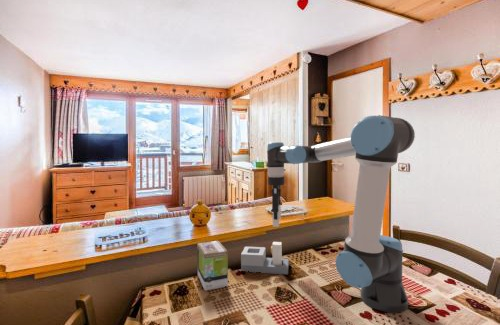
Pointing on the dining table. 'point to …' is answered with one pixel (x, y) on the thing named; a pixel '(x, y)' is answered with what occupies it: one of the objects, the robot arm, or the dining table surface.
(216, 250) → the tea box
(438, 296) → the dining table surface
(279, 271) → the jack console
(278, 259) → the plug
